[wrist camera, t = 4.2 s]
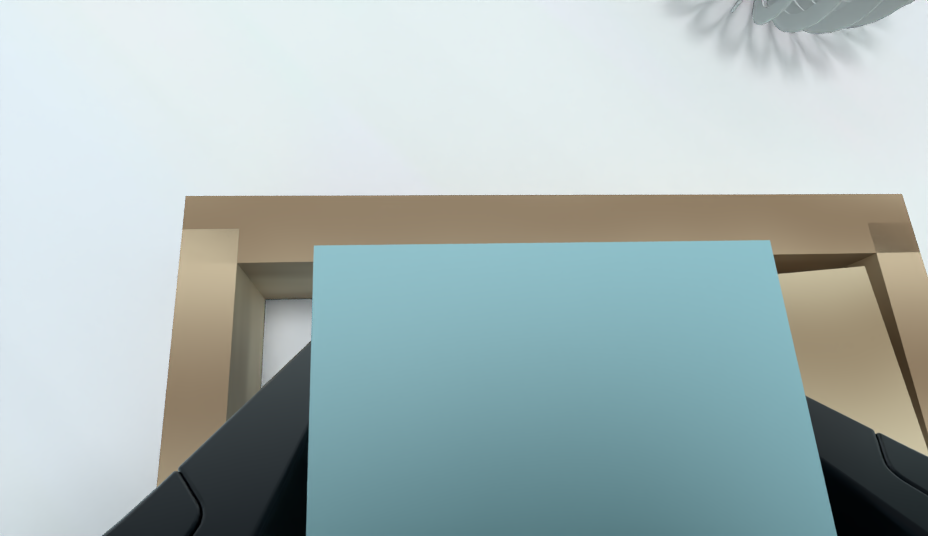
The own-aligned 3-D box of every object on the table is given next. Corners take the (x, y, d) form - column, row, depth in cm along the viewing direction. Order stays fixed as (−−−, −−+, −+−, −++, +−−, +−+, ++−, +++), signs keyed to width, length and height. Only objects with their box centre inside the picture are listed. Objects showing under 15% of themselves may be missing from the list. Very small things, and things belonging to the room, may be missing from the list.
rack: (905, 551, 16) (1018, 570, 13) (194, 609, 13) (140, 647, 11) (823, 236, 18) (901, 194, 15) (222, 243, 16) (185, 196, 13)
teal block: (550, 523, 15) (860, 636, 5) (366, 536, 14) (301, 691, 4) (537, 381, 16) (770, 240, 6) (366, 388, 15) (313, 245, 5)
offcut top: (862, 463, 14) (932, 463, 13) (740, 480, 14) (794, 482, 12) (808, 289, 16) (864, 266, 14) (696, 300, 15) (738, 277, 13)
